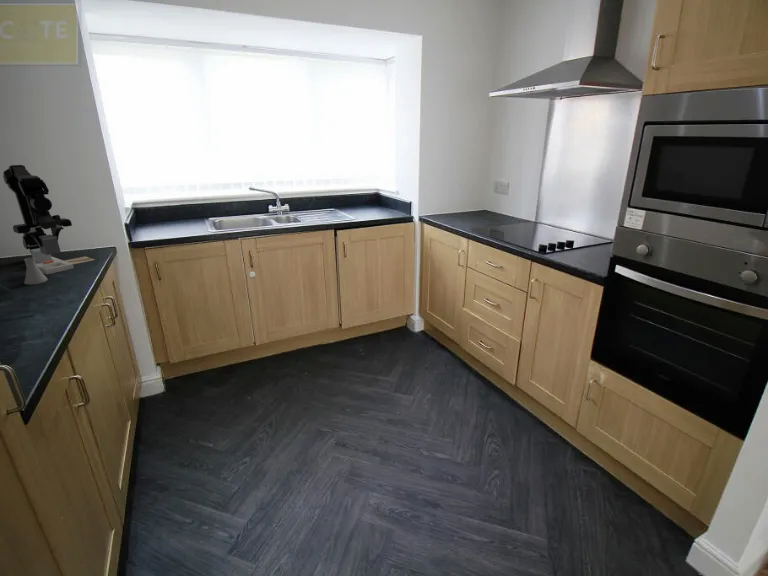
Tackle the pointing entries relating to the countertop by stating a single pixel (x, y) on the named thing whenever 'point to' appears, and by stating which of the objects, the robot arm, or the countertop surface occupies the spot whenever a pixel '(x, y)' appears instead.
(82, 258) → the cork pad
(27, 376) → the countertop surface
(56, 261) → the power strip
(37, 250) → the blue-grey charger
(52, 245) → the block
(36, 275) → the flask
